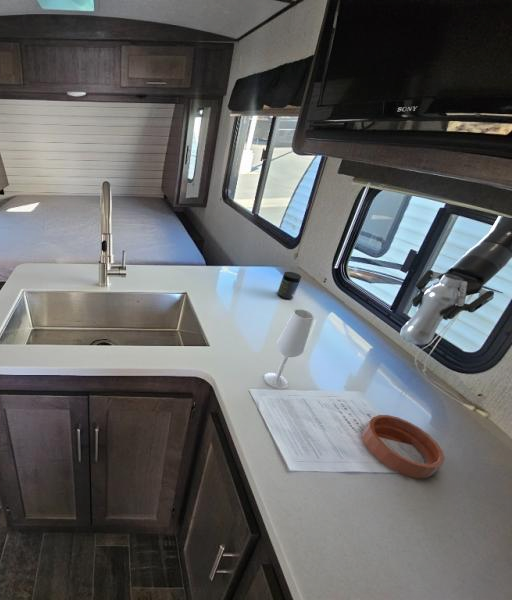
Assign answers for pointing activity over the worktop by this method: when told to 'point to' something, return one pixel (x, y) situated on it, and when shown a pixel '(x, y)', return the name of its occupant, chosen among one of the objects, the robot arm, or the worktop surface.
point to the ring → (405, 434)
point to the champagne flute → (291, 344)
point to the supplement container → (288, 285)
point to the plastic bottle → (432, 310)
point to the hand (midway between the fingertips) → (428, 311)
